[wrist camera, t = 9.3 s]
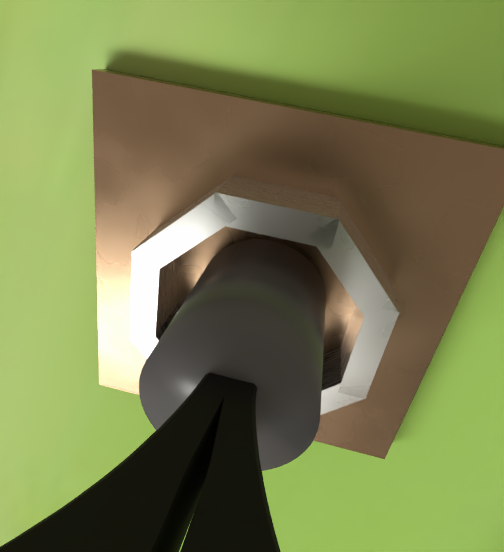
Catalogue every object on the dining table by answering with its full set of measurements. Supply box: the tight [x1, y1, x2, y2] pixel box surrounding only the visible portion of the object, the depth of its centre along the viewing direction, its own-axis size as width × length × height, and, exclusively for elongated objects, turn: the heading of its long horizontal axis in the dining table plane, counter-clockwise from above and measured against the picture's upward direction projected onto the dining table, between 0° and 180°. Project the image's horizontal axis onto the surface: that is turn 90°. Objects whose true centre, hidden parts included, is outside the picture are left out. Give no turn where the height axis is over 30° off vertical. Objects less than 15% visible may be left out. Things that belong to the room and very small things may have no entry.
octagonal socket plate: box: [92, 69, 504, 459], centre depth 16 cm, size 14×14×3 cm
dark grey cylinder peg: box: [139, 239, 326, 471], centre depth 14 cm, size 5×5×6 cm
